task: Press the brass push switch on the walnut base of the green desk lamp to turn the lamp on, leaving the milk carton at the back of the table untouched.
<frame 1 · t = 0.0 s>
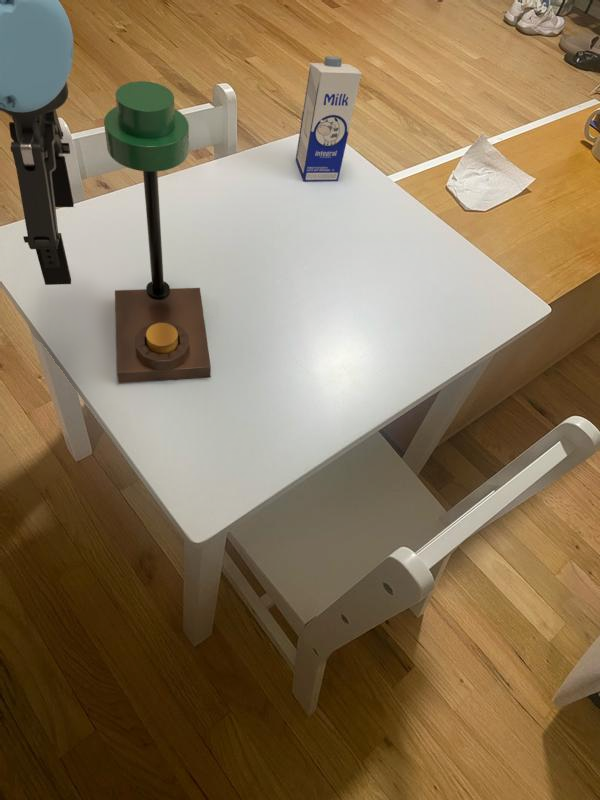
hand: (60, 242, 71), 15 cm above the table, tool pointing down, fingers open, 13 cm apart
milk carton: (316, 171, 114), on the table
lamp base: (161, 338, 84), on the table
lamp switch: (162, 338, 79), point 4 cm above the table, slide at 0.1 cm
lamp: (152, 204, 74), on the lamp base, point 18 cm above the table
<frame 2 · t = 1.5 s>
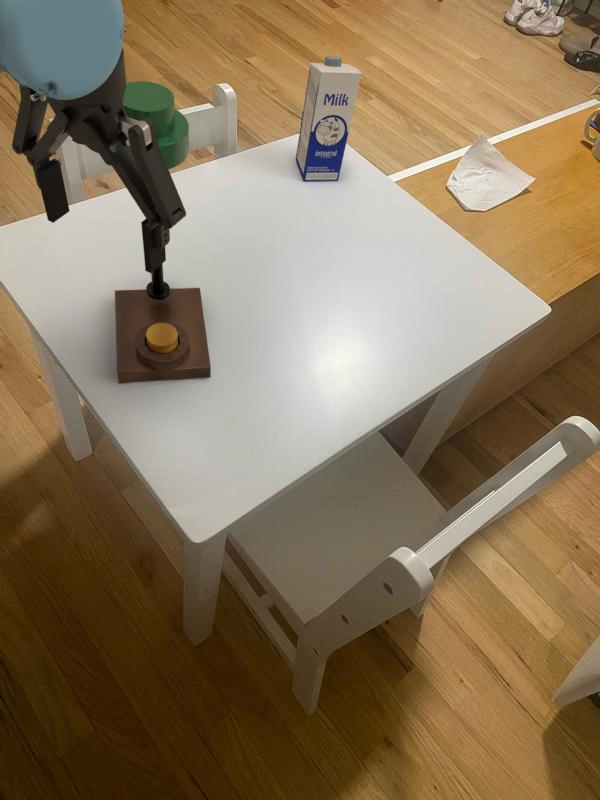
hand: (106, 240, 68), 18 cm above the table, tool pointing down, fingers open, 13 cm apart
nothing on the table moved.
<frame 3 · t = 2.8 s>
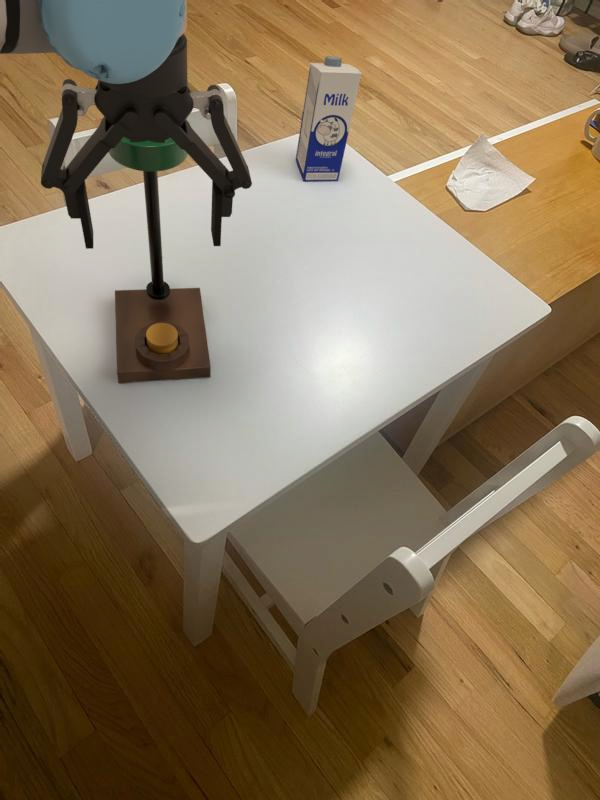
hand: (154, 239, 66), 21 cm above the table, tool pointing down, fingers open, 13 cm apart
nothing on the table moved.
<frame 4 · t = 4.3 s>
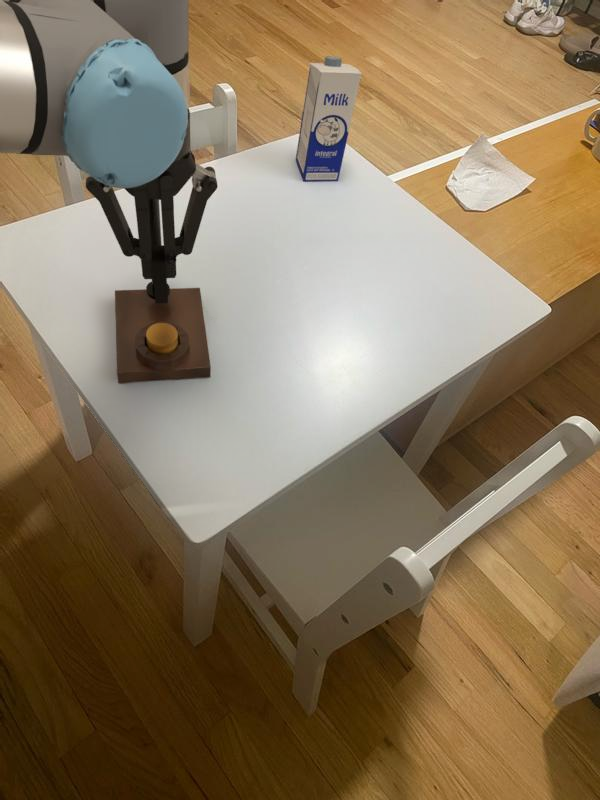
hand: (161, 295, 72), 12 cm above the table, tool pointing down, fingers closed
nothing on the table moved.
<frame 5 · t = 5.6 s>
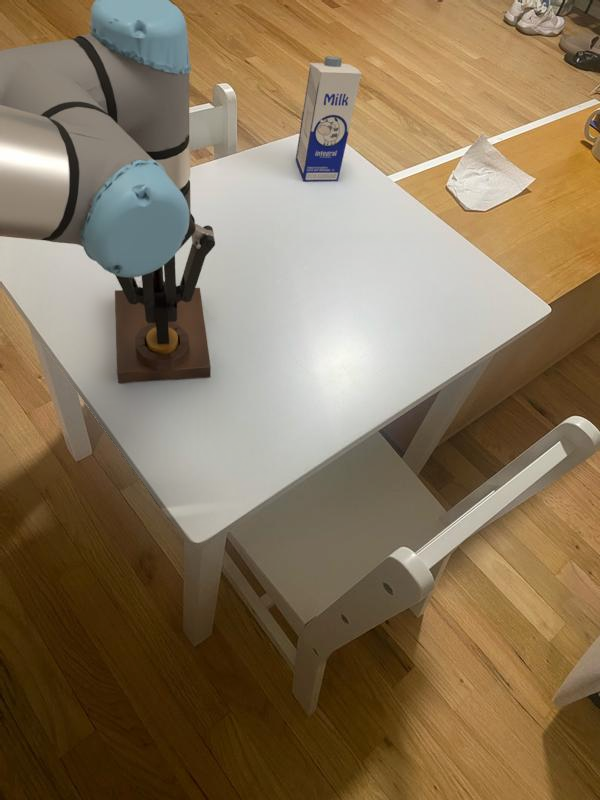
hand: (162, 335, 78), 5 cm above the table, tool pointing down, fingers closed
lamp switch: (162, 341, 79), point 4 cm above the table, slide at -0.6 cm, touching gripper
everything else where it was.
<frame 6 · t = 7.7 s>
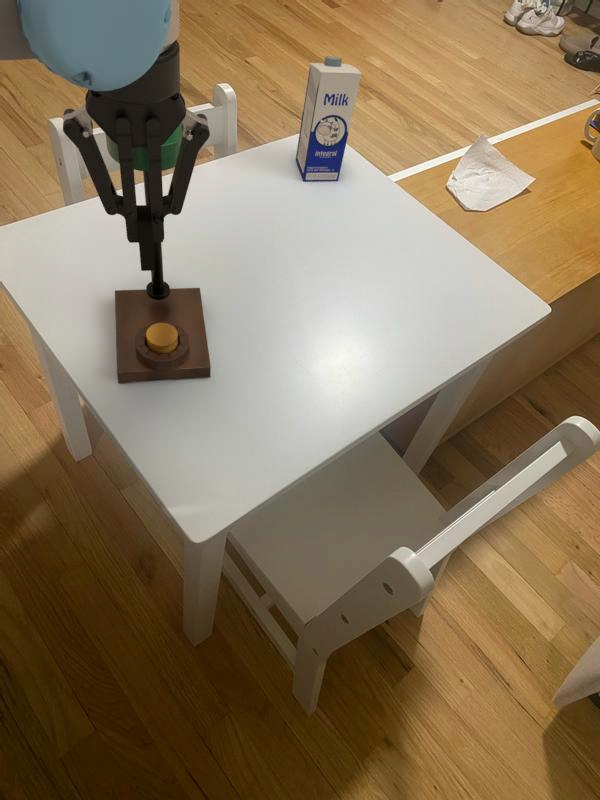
hand: (147, 262, 67), 18 cm above the table, tool pointing down, fingers closed
lamp switch: (162, 338, 79), point 4 cm above the table, slide at 0.1 cm
everything else where it was.
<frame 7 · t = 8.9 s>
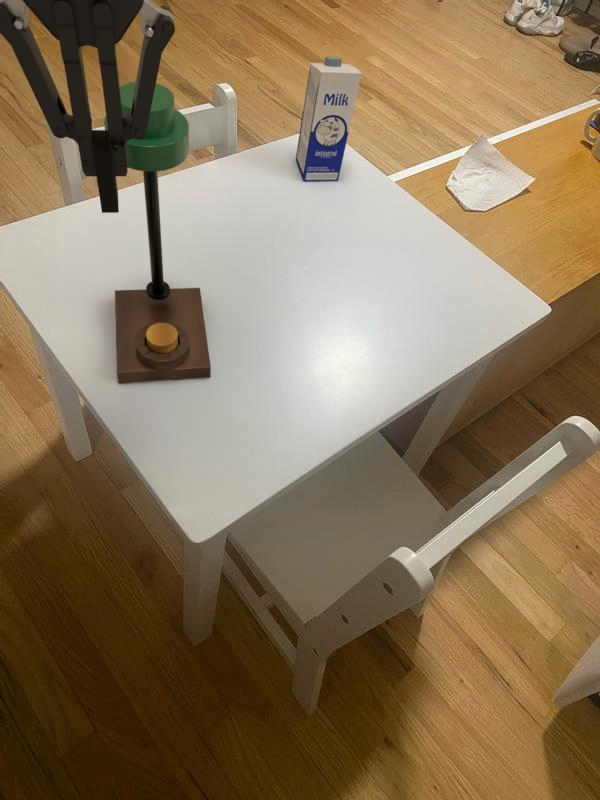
hand: (110, 203, 56), 28 cm above the table, tool pointing down, fingers closed
nothing on the table moved.
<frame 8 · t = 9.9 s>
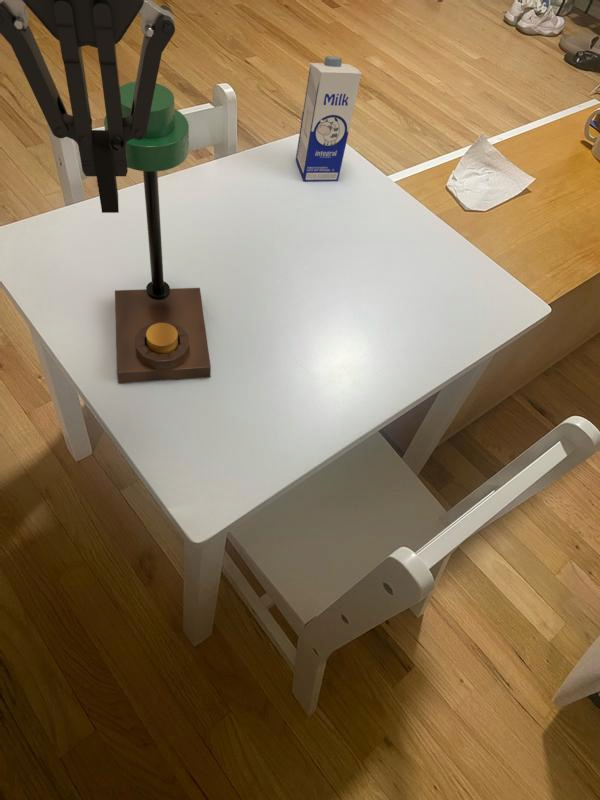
hand: (110, 203, 56), 28 cm above the table, tool pointing down, fingers closed
nothing on the table moved.
at the end: lamp switch pushed in 1.0 cm at the most during the clip, back to where it started at the end; lamp switch slide at 0.1 cm; milk carton moved 0.2 cm from its start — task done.
